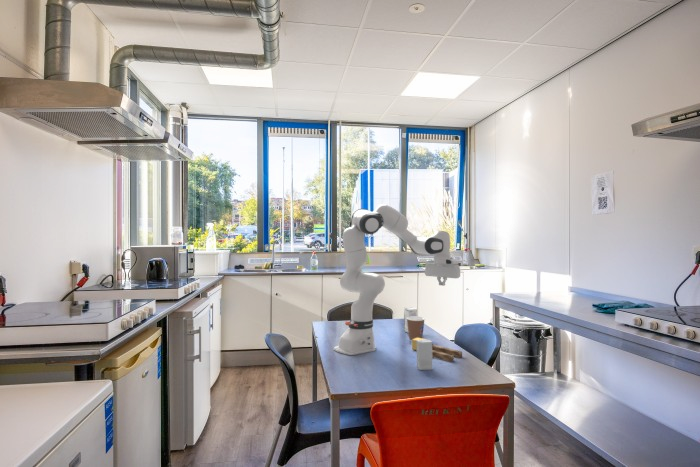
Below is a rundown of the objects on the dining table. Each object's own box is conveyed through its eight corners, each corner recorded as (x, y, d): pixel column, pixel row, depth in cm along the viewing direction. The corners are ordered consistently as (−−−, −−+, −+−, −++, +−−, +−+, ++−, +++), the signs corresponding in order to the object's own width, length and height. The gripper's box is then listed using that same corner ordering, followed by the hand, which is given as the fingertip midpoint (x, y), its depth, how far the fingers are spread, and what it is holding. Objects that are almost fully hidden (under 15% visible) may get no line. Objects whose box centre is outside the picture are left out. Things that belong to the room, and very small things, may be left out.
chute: (462, 356, 176) (462, 350, 176) (451, 361, 169) (451, 355, 169) (431, 349, 188) (431, 343, 188) (419, 353, 181) (419, 347, 181)
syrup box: (411, 330, 227) (412, 306, 227) (416, 332, 221) (417, 308, 222) (403, 331, 225) (403, 307, 225) (408, 333, 219) (408, 309, 219)
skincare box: (429, 366, 163) (429, 339, 163) (432, 370, 158) (433, 342, 158) (416, 366, 162) (416, 339, 162) (418, 370, 158) (419, 342, 158)
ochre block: (427, 349, 187) (427, 339, 187) (422, 351, 183) (422, 341, 183) (417, 347, 191) (417, 337, 191) (412, 349, 187) (412, 339, 187)
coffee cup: (424, 342, 200) (425, 320, 200) (405, 341, 202) (406, 319, 202) (424, 337, 210) (425, 316, 210) (406, 336, 212) (406, 315, 212)
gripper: (422, 259, 207) (422, 284, 207) (455, 261, 193) (455, 287, 192) (428, 259, 211) (428, 283, 211) (461, 260, 197) (461, 286, 197)
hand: (441, 285), depth 202 cm, fingers closed
